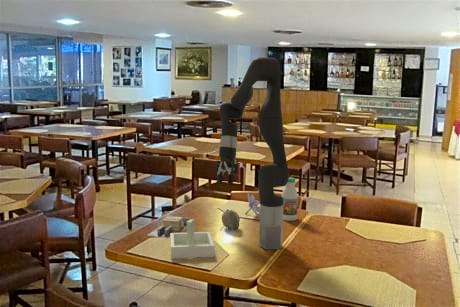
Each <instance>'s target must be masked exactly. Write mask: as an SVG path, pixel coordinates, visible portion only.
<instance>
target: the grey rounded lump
mask: <svg viewBox="0 0 460 307" xmlns="http://www.w3.org/2000/svg"><path fill="white" fill-rule="evenodd" d="M240 220H241V219H240V215H239V213H238V212H237V211H235V210H234V209H226V210H225V211H224V212H223V213H222V214H221V222H222V225H223V227H225V229H227V230H228V231H236V230H239V229H240Z"/></svg>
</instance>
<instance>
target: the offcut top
mask: <svg viewBox="0 0 460 307" xmlns="http://www.w3.org/2000/svg"><path fill="white" fill-rule="evenodd" d="M180 217H181V216H177V217H166V216H165V217H164V218H163V219H162V224H163V225H175V226H179V225H180V224H181V223H182V218H180Z"/></svg>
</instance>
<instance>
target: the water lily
mask: <svg viewBox="0 0 460 307" xmlns="http://www.w3.org/2000/svg"><path fill="white" fill-rule="evenodd" d="M255 198H256V197H255V195H254V194H251V195H250V194H249V192H248V193H247V201H248V207H249V209H247V211H246V212H245V213H244V214H245V215H247V214H248V213H249V211H251V210H252V212H253V213H254V214H255V215H256V216H257V217H258V218H259V219H260V200H258V199H255Z"/></svg>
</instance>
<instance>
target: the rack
mask: <svg viewBox="0 0 460 307" xmlns="http://www.w3.org/2000/svg"><path fill="white" fill-rule="evenodd" d="M166 217H178V216H176V215H165V218H166ZM179 217H180V218H182V222H184V227H182V228H181V229H180V230H179V231H177V230H172V226H169V227H168V228H166V229H165V225H163V226H161V225H159V226H158V227H157V228H155V229H153V230H152V231H151V232H149V233H148V234H147V235H146V236H149V237H156V238H158V237H159V238H165V239H170V233H183V231H184V232H185V230H187V221H189V220H190V219H192V218H191V217H186V216H179Z"/></svg>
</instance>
